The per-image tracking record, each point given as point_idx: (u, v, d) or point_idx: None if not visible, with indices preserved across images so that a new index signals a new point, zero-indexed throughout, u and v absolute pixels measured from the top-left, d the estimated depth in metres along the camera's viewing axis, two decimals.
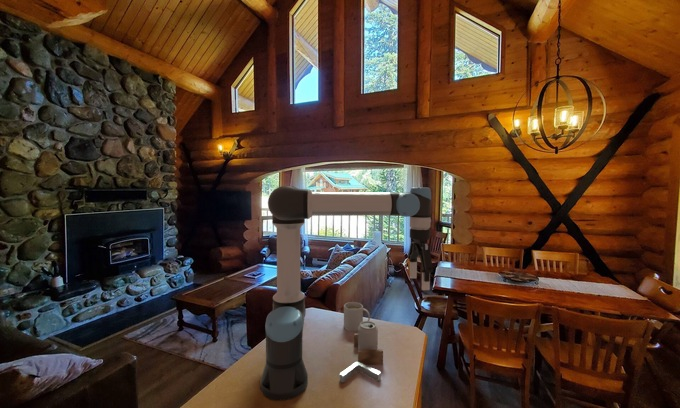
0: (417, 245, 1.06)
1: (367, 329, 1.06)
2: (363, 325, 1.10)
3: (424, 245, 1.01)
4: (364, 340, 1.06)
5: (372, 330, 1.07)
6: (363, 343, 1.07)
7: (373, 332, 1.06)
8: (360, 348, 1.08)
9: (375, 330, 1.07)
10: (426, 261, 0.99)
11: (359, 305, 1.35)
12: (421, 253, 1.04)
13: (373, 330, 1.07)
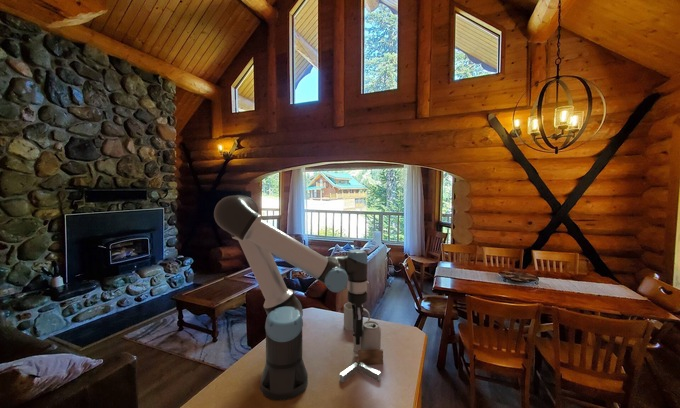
0: (354, 309, 1.07)
1: (371, 328, 1.07)
2: (366, 325, 1.10)
3: (357, 317, 1.03)
4: (367, 340, 1.06)
5: (375, 330, 1.07)
6: (366, 342, 1.07)
7: (376, 332, 1.07)
8: (363, 348, 1.08)
9: (378, 330, 1.08)
10: (357, 329, 1.05)
11: None
12: (356, 318, 1.07)
13: (376, 330, 1.07)
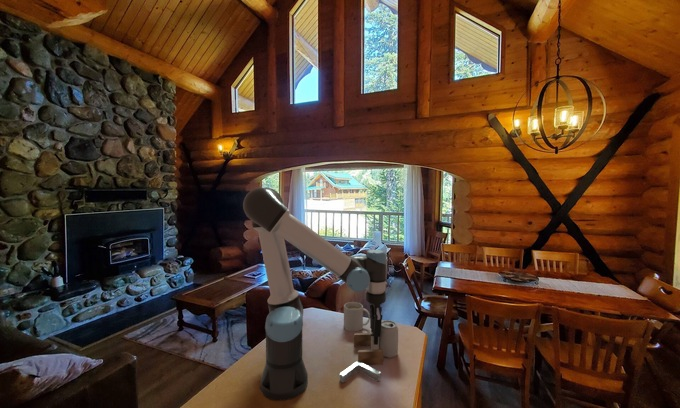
0: (372, 309, 1.07)
1: (389, 328, 1.07)
2: (384, 324, 1.10)
3: (376, 317, 1.03)
4: (386, 339, 1.07)
5: (393, 329, 1.08)
6: (384, 342, 1.07)
7: (395, 331, 1.07)
8: (382, 347, 1.08)
9: (396, 329, 1.08)
10: (375, 329, 1.05)
11: (359, 305, 1.35)
12: (374, 318, 1.08)
13: (394, 329, 1.08)
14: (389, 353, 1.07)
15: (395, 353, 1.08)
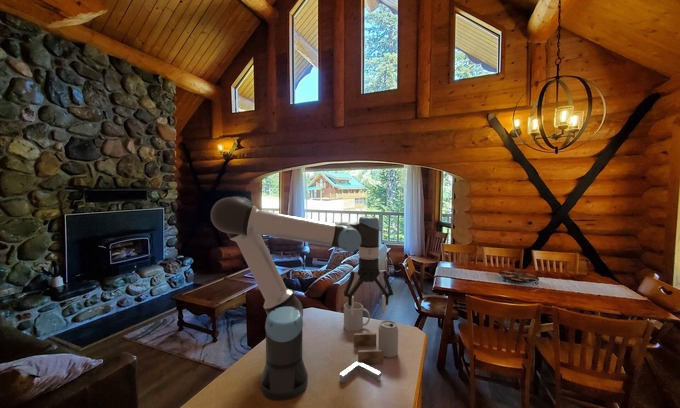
0: None
1: (389, 328, 1.07)
2: (383, 324, 1.10)
3: (350, 271, 1.09)
4: (386, 339, 1.07)
5: (393, 329, 1.08)
6: (384, 342, 1.07)
7: (395, 331, 1.07)
8: (382, 347, 1.08)
9: (396, 329, 1.08)
10: (346, 285, 1.09)
11: (359, 305, 1.35)
12: (358, 280, 1.09)
13: (394, 329, 1.08)
14: (389, 353, 1.07)
15: (395, 353, 1.08)
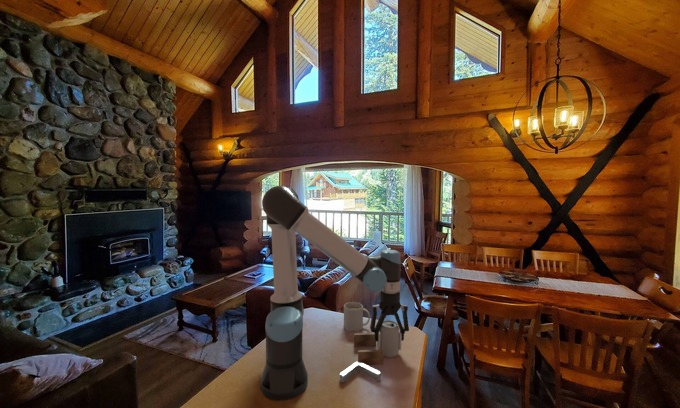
0: None
1: (390, 328, 1.07)
2: (384, 324, 1.10)
3: (372, 306, 1.10)
4: (386, 339, 1.07)
5: (394, 329, 1.08)
6: (385, 342, 1.07)
7: (395, 331, 1.07)
8: (383, 347, 1.08)
9: (397, 329, 1.08)
10: (371, 320, 1.10)
11: (359, 305, 1.35)
12: (381, 314, 1.10)
13: (395, 329, 1.08)
14: (390, 353, 1.07)
15: (396, 353, 1.08)
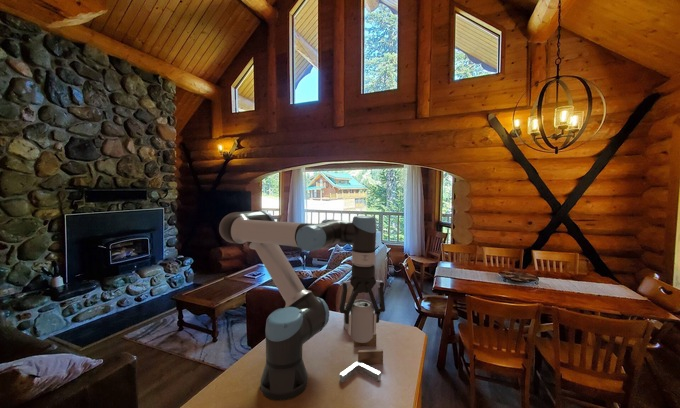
0: None
1: (363, 307, 0.90)
2: (357, 304, 0.93)
3: (342, 282, 0.93)
4: (358, 321, 0.90)
5: (368, 309, 0.90)
6: (357, 324, 0.90)
7: (369, 311, 0.90)
8: (354, 331, 0.91)
9: (371, 309, 0.91)
10: (341, 299, 0.93)
11: None
12: (352, 291, 0.93)
13: (369, 309, 0.91)
14: (362, 337, 0.90)
15: (369, 337, 0.91)
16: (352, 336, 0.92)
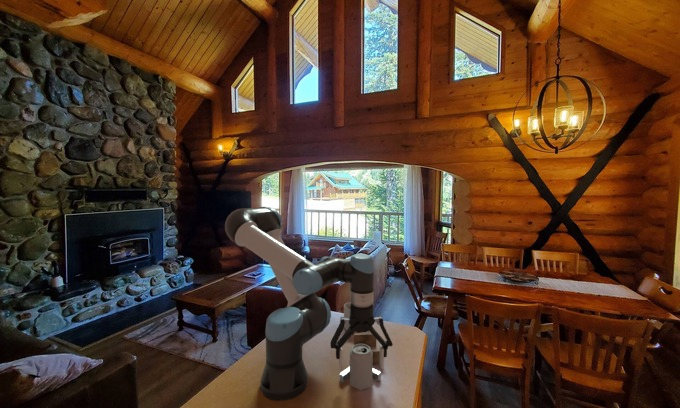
0: None
1: (361, 354, 0.90)
2: (355, 349, 0.93)
3: (340, 318, 0.92)
4: (357, 368, 0.90)
5: (366, 356, 0.90)
6: (355, 371, 0.90)
7: (368, 358, 0.90)
8: (353, 378, 0.91)
9: (370, 355, 0.91)
10: (334, 334, 0.92)
11: None
12: (349, 328, 0.93)
13: (368, 356, 0.90)
14: (361, 385, 0.90)
15: (368, 384, 0.90)
16: (351, 382, 0.91)
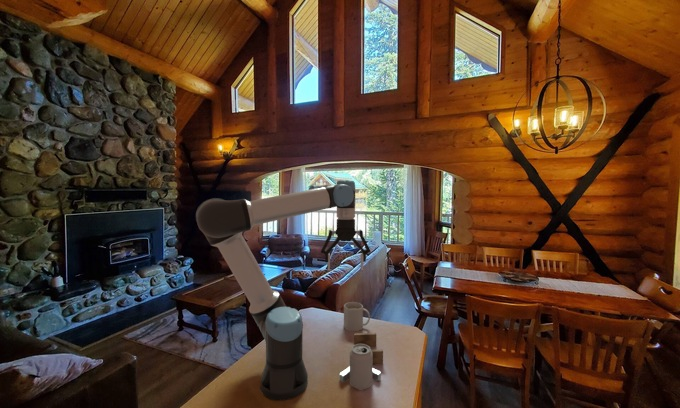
0: None
1: (361, 354, 0.90)
2: (355, 349, 0.93)
3: (329, 231, 1.16)
4: (357, 368, 0.90)
5: (366, 356, 0.90)
6: (355, 371, 0.90)
7: (368, 358, 0.90)
8: (353, 378, 0.91)
9: (370, 355, 0.91)
10: (324, 243, 1.16)
11: (359, 305, 1.35)
12: (335, 239, 1.17)
13: (368, 356, 0.90)
14: (361, 385, 0.90)
15: (368, 384, 0.90)
16: (351, 382, 0.91)
